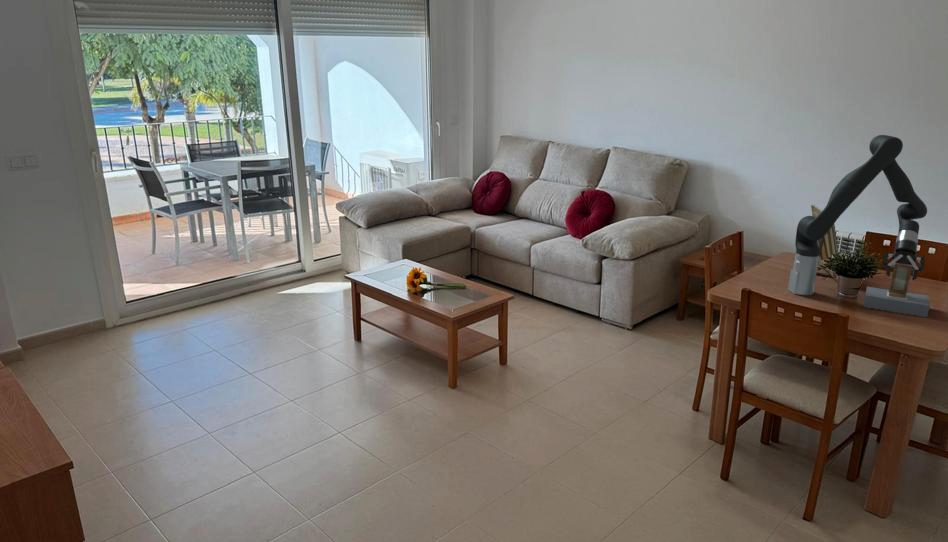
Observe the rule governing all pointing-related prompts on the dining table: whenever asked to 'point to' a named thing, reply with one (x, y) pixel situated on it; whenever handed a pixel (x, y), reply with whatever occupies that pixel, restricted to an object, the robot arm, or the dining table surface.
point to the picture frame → (826, 242)
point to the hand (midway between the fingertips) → (901, 277)
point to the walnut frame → (900, 280)
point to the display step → (897, 302)
